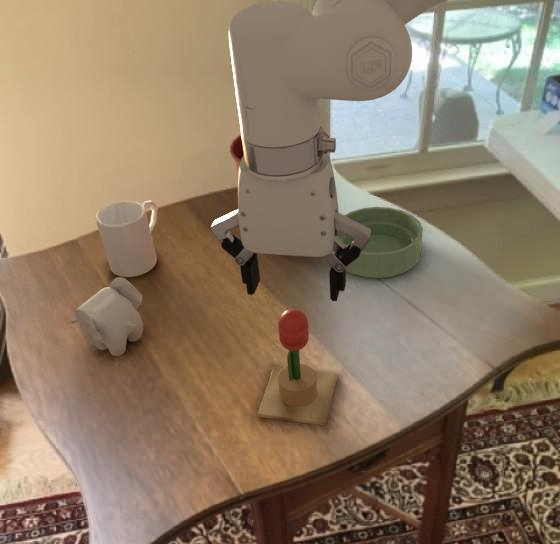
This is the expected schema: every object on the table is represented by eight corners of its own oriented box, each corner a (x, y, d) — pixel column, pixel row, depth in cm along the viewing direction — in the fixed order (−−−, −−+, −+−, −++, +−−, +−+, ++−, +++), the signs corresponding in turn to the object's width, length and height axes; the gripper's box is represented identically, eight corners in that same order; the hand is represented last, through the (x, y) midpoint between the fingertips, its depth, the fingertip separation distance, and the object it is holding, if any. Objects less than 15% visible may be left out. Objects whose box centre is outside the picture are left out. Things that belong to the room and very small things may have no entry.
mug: (181, 247, 116) (171, 196, 109) (134, 282, 109) (120, 231, 102) (148, 235, 119) (136, 185, 112) (100, 269, 112) (84, 218, 106)
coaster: (337, 376, 90) (337, 373, 89) (326, 425, 83) (325, 422, 83) (274, 369, 92) (273, 366, 91) (257, 416, 85) (257, 413, 85)
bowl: (423, 235, 113) (425, 209, 110) (416, 284, 103) (418, 257, 100) (341, 229, 116) (341, 204, 113) (327, 277, 106) (326, 251, 103)
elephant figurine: (106, 309, 104) (91, 263, 98) (164, 332, 99) (152, 285, 93) (62, 345, 98) (43, 298, 92) (122, 371, 93) (106, 323, 87)
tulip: (320, 382, 88) (317, 300, 79) (312, 409, 85) (308, 327, 75) (284, 378, 89) (276, 297, 80) (275, 404, 86) (266, 323, 76)
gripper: (376, 133, 64) (374, 276, 76) (209, 130, 68) (231, 266, 80) (365, 170, 59) (365, 317, 71) (185, 164, 63) (213, 305, 75)
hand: (294, 290), depth 75 cm, fingers open, 9 cm apart
